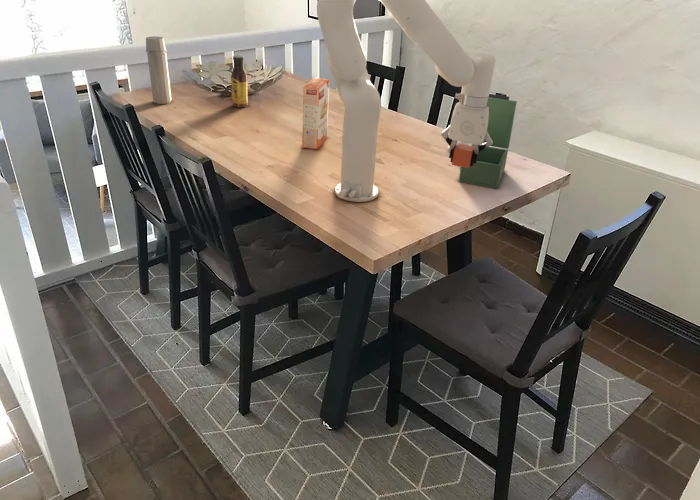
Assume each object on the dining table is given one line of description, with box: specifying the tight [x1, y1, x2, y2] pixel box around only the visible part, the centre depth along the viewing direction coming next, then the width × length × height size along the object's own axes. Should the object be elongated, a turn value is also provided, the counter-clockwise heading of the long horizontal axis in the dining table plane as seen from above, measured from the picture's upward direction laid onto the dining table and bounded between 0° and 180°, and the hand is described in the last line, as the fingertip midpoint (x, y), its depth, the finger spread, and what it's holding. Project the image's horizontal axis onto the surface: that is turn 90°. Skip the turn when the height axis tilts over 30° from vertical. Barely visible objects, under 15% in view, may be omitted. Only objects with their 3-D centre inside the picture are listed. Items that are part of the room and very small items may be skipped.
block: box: [451, 143, 474, 168], centre depth 165 cm, size 5×5×5 cm
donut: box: [447, 141, 472, 154], centre depth 196 cm, size 10×4×10 cm
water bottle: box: [145, 35, 172, 105], centre depth 226 cm, size 9×8×25 cm
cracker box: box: [301, 77, 330, 150], centre depth 195 cm, size 14×6×21 cm, turn 168°
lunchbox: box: [458, 144, 509, 189], centre depth 179 cm, size 16×12×7 cm
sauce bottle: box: [230, 54, 249, 108], centre depth 229 cm, size 7×6×20 cm
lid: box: [481, 93, 517, 150], centre depth 179 cm, size 16×12×6 cm
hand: (462, 162), depth 166 cm, fingers closed on block, 5 cm apart
